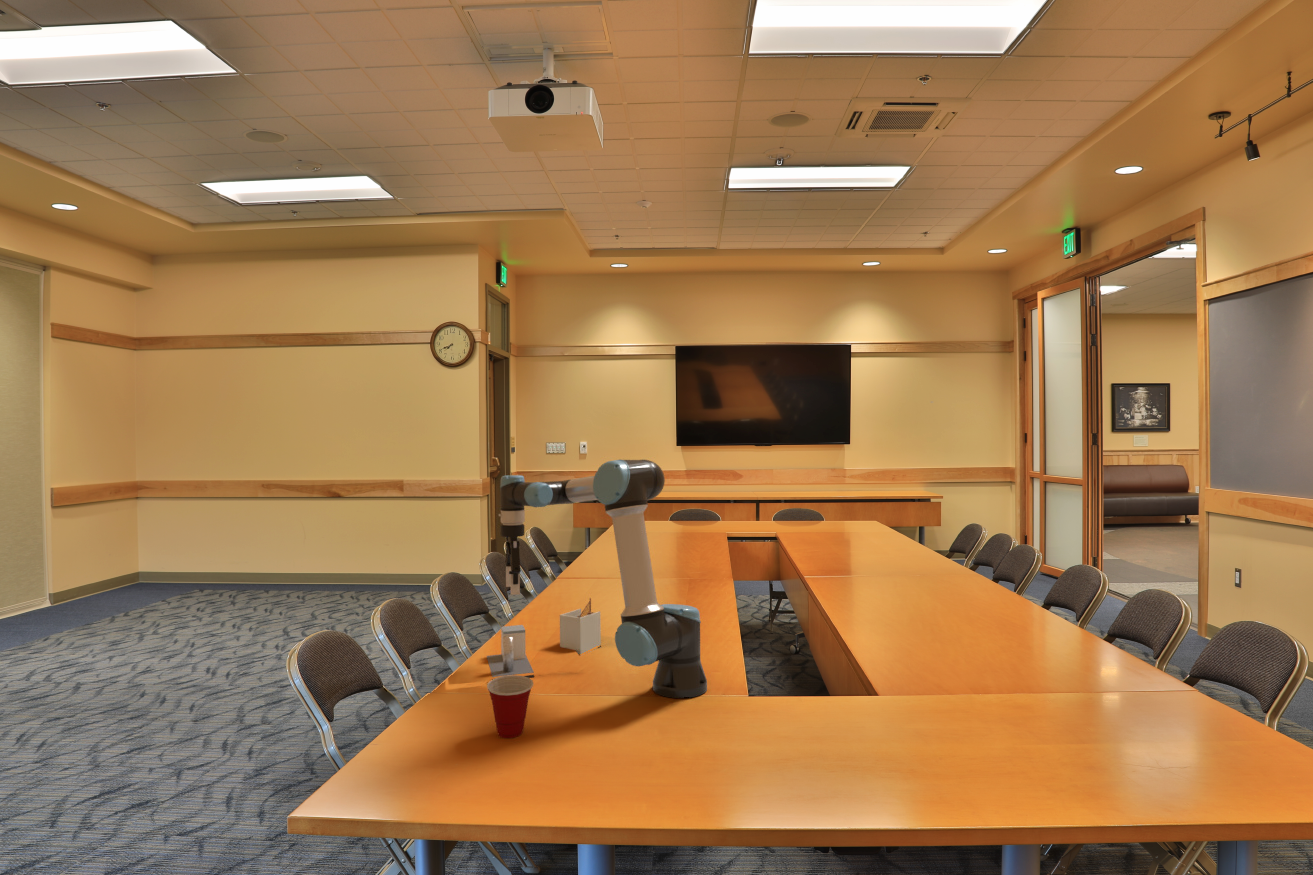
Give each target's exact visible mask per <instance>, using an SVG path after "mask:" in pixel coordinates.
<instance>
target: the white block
mask: <svg viewBox="0 0 1313 875" xmlns="http://www.w3.org/2000/svg"><path fill="white" fill-rule="evenodd" d="M500 633H501V634H500V637H501V638H500V640H501V641H500V643H501V644H500V646H501V647H500V649H501V653H500V654H501V655H502V658H503V637H504V636H513V657H514V660H517V659H526V656H527V655H526V654H527V653H526V629H525V626H524V625H523V624H518V625H507V626H501V629H500Z"/></svg>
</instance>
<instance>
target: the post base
mask: <svg viewBox="0 0 1313 875" xmlns="http://www.w3.org/2000/svg"><path fill="white" fill-rule="evenodd" d="M486 659H487V663H488V666H489V670H490V673H491V677H492V678H493V679H494V678H498V677H502V676H509V675H522V674H528V675H523V676H524V677H528V678H530V679H533V678H535V674H534V673H535V672H534V669H533V668H532V665H531V662H530V661H529V659H528V657H527V655H526V659H517V660H514V657H513V636H504V637H503V658H502V655H501V653H500V654H491V655H486ZM529 674H530V675H529ZM492 678H491V680H493V679H492Z"/></svg>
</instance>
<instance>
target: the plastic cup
mask: <svg viewBox="0 0 1313 875" xmlns="http://www.w3.org/2000/svg"><path fill="white" fill-rule="evenodd" d="M524 676H525V675H519V674H516V675H507V676H498V677H494V678H493V680H492V679H491V680H490V681H489V682H488V683H487V684H486V687H487V691H488V692H489V696H490V699H491V704H492V711H493V716H494V722H495V726H496V732H497V735H498V737H500V738H502V739H511V738H512V739H513V738H516V737H519V736H521V735H522V734H523V731H524V729H525V728H524V727H525V721H526V716H527V710H528V706H529V705H528V704H529V700H530V699H529V698H530V694H531V690H532V688H533V687H534V680H532V678H528V677H524Z"/></svg>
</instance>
